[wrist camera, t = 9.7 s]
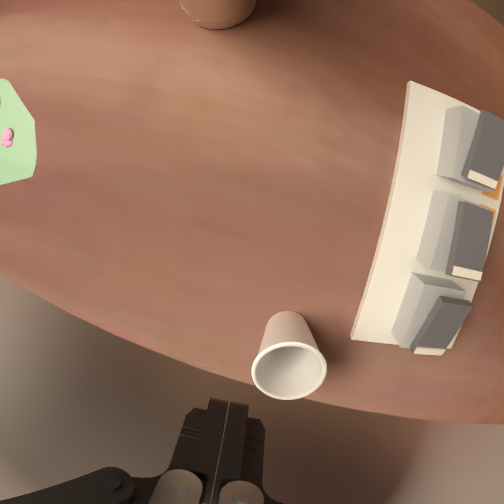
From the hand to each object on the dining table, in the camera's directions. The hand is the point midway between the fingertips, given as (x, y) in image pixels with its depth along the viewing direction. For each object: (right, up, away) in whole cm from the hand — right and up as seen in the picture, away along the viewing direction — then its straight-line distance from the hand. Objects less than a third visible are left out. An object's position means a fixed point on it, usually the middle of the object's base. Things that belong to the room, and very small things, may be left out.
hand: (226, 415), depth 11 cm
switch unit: (+26, +10, +26) cm, 38 cm away
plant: (-43, +26, +26) cm, 57 cm away
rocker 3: (+26, +7, +18) cm, 33 cm away
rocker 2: (+28, +18, +15) cm, 36 cm away
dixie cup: (+6, -4, +31) cm, 32 cm away
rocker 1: (+24, -3, +22) cm, 33 cm away
